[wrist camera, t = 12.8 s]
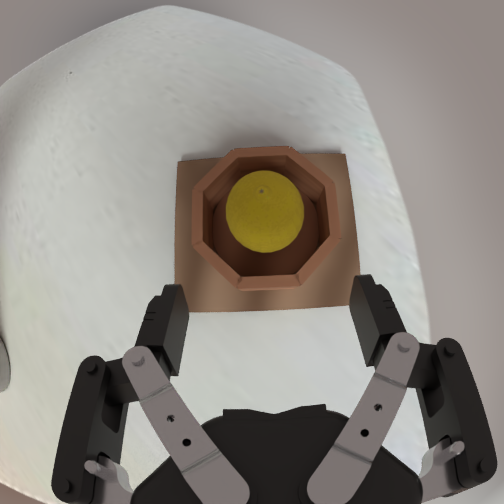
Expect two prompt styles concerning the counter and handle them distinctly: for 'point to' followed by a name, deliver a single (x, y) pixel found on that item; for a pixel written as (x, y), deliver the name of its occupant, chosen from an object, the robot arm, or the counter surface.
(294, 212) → the lemon
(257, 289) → the brown bowl on base
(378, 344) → the robot arm
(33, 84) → the counter surface
